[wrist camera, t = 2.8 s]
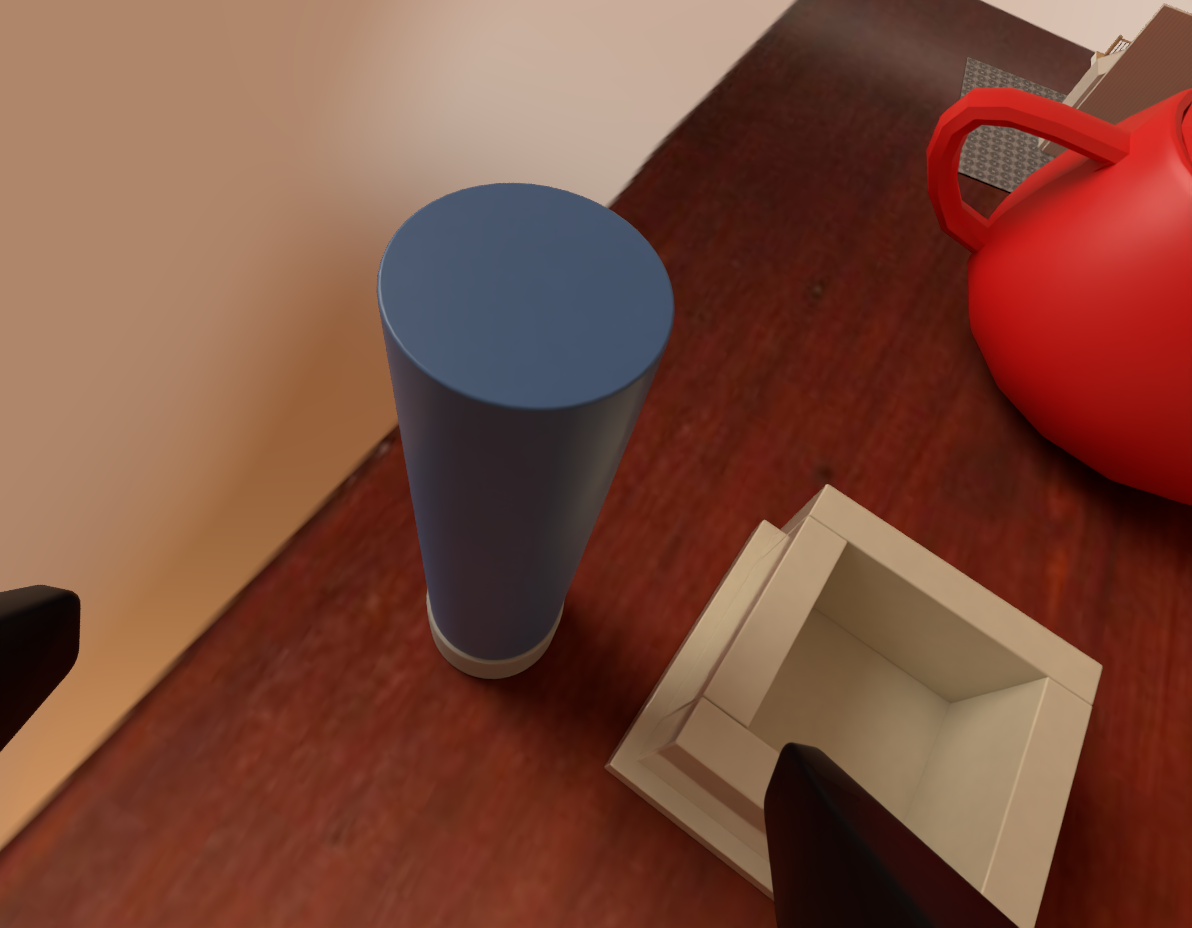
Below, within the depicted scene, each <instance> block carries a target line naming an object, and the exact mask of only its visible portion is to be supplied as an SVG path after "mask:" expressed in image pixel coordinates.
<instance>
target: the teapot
mask: <svg viewBox="0 0 1192 928" xmlns="http://www.w3.org/2000/svg"><path fill="white" fill-rule="evenodd" d="M981 125H988V126H998V127H1009V128H1014V129H1017V130H1020V131H1023V132H1025V133H1028V134H1031V135H1034V136H1037V137H1040V138H1043V139H1045V140H1048V141H1051V142H1054V143H1056V144H1058V145H1061V146H1063V147H1065V148H1068V150H1066V151H1065V152H1063V153H1062V154H1060V155H1059V156H1058V157H1056V158H1055V159H1053V160H1052V161H1050V162H1049V163H1047V164H1046V165H1044V166H1043V167H1041V168H1040V169H1038V170H1037V171H1035V172H1034V173H1032V174H1031V175H1030V176H1029V177H1028V178H1027V179H1026V180H1024V181H1023V182H1022V183H1021V184H1020V185H1019V186H1018V187H1017V188H1016V189H1015V190H1014V191H1013V192H1012V193H1011V194H1010V195H1008V196H1007V197H1006V198H1005V199H1004V200H1003V202H1002V203H1001V204H1000V205H999V206H998V208H997V209H996V210H995V211H994V213H993V214H992V215H991V216H990V218H989V220H987V219H986V218H985V217H983V216H982V215H981V214H979V213H978V212H977V211H975V210H974V209H973V208H971V207H970V206H969V205H967V204H966V203H965V202H963V201H962V199H961V194H960V189H959V184H958V179H957V176H958V169H959V162H960V155H961V150H962V148H963V145H964V143H965V141H966V139H967V137H968V135H969V133H970V132H971V131H973V130H975V129H976V128H978V127H980V126H981ZM927 187H928V194H929V197H930V199H931V202H932V205H933V208H934V210H935V213H936V216H937V219H938V221H939V224H940V227H941V230H942V231H944V232H945V233H946V234H948V235H949V236H950V237H952V238H953V239H954V240H956V241H957V242H958V243H960V244H961V245H962V246H964V247H965V248H966V249H968V250H969V251H970V252H972V254H971V256H970V258H969V259H968V312H969V322H970V330H971V332H972V334H973V336H974V338H975V340H976V343H977V345H978V347H979V349H980V351H981V353H982V355H983V357H984V359H985V361H986V364H987V366H988V368H989V370H990V372H991V374H992V376H993V378H994V380H995V382H996V384H997V386H998V388H999V389H1000V390H1001V391H1002V393H1003V394H1004V395H1005V396H1006V397H1007V398H1008V399H1009V400H1010V401H1011V402H1012V404H1013V405H1014V406H1015V407H1016V408H1017V409H1018V410H1019V411H1020V412H1021V413H1022V414H1023V416H1024V417H1025V418H1026V419H1027V420H1028V421H1029V422H1030V423H1031V424H1032V425H1033V427H1034V428H1035V429H1036V430H1037V431H1038V432H1039V433H1040V434H1041V435H1042V436H1043V437H1045V438H1046V439H1048V440H1049V441H1051V442H1052V443H1054V444H1055V445H1057V446H1058V447H1060V448H1061V449H1063V450H1064V451H1066V452H1068V453H1069V454H1071V455H1072V456H1074V457H1075V458H1077V459H1078V460H1080V461H1081V462H1083V463H1084V464H1086V465H1087V466H1089V467H1090V468H1092V469H1094V470H1095V471H1097V472H1098V473H1100V474H1101V475H1103V476H1105V477H1106V478H1108V479H1110V480H1111V481H1114V482H1117V483H1120V484H1124V485H1127V486H1130V487H1133V488H1136V489H1139V490H1142V491H1145V492H1148V493H1152V494H1155V495H1158V496H1161V497H1164V498H1167V499H1170V500H1173V501H1176V502H1180V503H1183V504H1187V505H1191V506H1192V88H1190V89H1187V90H1184V91H1182V92H1180V93H1178V94H1176V95H1173V96H1171V97H1169V98H1167V99H1165V100H1163V101H1161V102H1159V103H1157V104H1155V105H1153V106H1151V107H1149V108H1147V109H1145V110H1143V111H1141V112H1139V113H1137V114H1135V115H1133V116H1131V117H1129V118H1127V119H1125V120H1123V121H1121V122H1120V123H1118V124H1116V125H1113V124H1111V123H1108V122H1106V121H1104V120H1101V119H1099V118H1096V117H1094V116H1092V115H1089V114H1087V113H1085V112H1082V111H1080V110H1078V109H1075V108H1073V107H1071V106H1068V105H1066V104H1063V103H1060V102H1057V101H1054V100H1050V99H1047V98H1044V97H1041V96H1038V95H1035V94H1031V93H1028V92H1025V91H1022V90H1019V89H1016V88H1012V87H1008V88H974V89H973V90H971V91H970V92H969V93H968V94H966V95H965V96H964V97H963V98H961V99H960V100H959V101H958V102H956V103H955V104H954V105H953V106H951V107H950V108H949V109H948V110H946V111H945V112H944V113H943V114H942V115H941V116H940V119H939V121H938V124H937V126H936V128H935V131H934V133H933V136H932V138H931V140H930V143H929V145H928V148H927Z"/></svg>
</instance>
